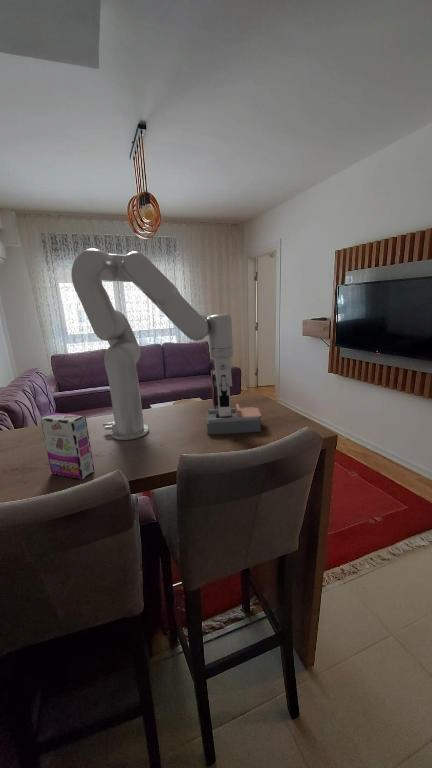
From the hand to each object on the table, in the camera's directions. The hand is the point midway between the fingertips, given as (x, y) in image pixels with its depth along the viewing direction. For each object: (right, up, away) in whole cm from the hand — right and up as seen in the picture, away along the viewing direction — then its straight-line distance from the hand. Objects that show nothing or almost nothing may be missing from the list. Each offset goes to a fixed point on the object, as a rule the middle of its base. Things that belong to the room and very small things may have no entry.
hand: (224, 403), depth 110 cm
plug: (0, -4, +1) cm, 4 cm away
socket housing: (+3, -8, +2) cm, 9 cm away
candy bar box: (-42, -18, -23) cm, 51 cm away
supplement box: (-2, -4, +21) cm, 22 cm away
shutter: (+8, -4, +1) cm, 9 cm away
